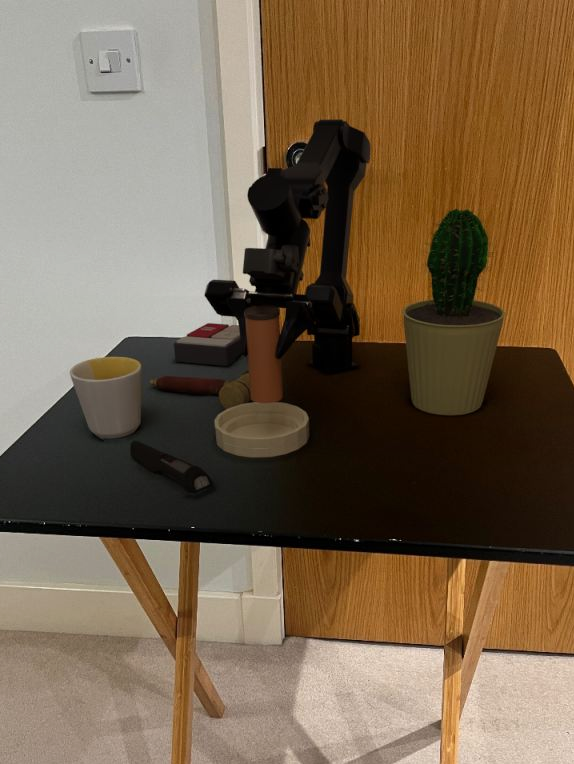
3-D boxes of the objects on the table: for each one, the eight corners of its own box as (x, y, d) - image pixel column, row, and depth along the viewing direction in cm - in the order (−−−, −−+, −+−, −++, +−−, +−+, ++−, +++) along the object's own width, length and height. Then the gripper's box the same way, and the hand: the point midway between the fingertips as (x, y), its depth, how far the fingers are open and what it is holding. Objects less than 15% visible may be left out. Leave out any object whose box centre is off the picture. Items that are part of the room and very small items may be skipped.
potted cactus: (384, 411, 120) (390, 210, 105) (417, 380, 132) (427, 195, 117) (479, 427, 114) (500, 216, 99) (505, 393, 126) (528, 199, 111)
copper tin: (272, 388, 111) (268, 303, 105) (289, 398, 108) (286, 311, 101) (243, 395, 109) (237, 309, 103) (260, 406, 105) (254, 317, 99)
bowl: (280, 415, 120) (279, 395, 118) (326, 446, 110) (326, 424, 108) (201, 435, 114) (199, 413, 113) (241, 470, 104) (240, 447, 102)
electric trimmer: (148, 455, 109) (144, 435, 108) (215, 488, 100) (213, 466, 98) (125, 464, 107) (122, 443, 106) (193, 498, 97) (190, 476, 96)
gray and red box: (256, 324, 151) (226, 343, 139) (257, 346, 153) (227, 366, 140) (206, 321, 154) (172, 339, 142) (208, 342, 156) (174, 361, 144)
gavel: (131, 379, 127) (163, 360, 135) (136, 405, 129) (168, 385, 137) (241, 386, 119) (269, 366, 126) (245, 413, 121) (272, 392, 129)
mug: (120, 452, 110) (109, 383, 105) (67, 439, 114) (54, 373, 109) (176, 418, 120) (169, 354, 115) (126, 408, 125) (116, 346, 119)
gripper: (203, 219, 102) (175, 323, 99) (336, 222, 97) (311, 332, 94) (230, 265, 113) (206, 361, 109) (351, 271, 108) (330, 372, 104)
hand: (260, 356), depth 104 cm, fingers closed on copper tin, 4 cm apart
